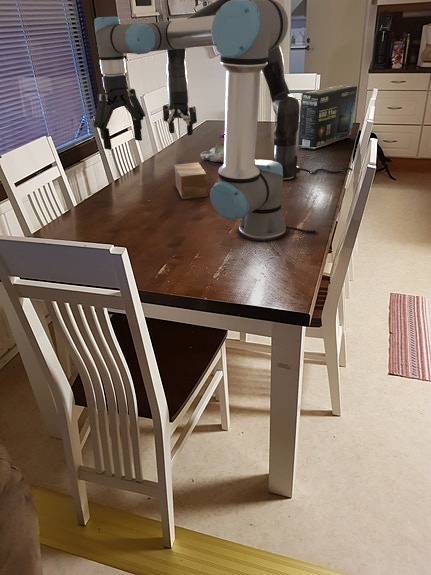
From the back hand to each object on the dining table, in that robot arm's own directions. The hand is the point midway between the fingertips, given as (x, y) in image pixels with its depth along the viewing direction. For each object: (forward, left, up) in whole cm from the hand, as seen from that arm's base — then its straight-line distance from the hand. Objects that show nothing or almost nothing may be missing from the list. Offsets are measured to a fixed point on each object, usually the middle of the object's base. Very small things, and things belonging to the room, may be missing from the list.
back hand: (180, 134), depth 179 cm
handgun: (-49, -71, -22) cm, 89 cm away
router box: (-89, -37, -22) cm, 99 cm away
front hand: (+26, +22, +4) cm, 34 cm away
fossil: (-27, -34, -22) cm, 49 cm away
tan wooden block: (-1, +5, -22) cm, 22 cm away
